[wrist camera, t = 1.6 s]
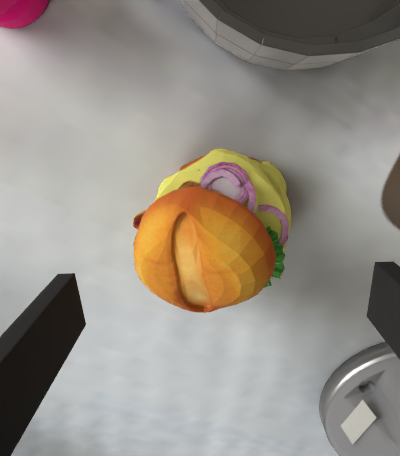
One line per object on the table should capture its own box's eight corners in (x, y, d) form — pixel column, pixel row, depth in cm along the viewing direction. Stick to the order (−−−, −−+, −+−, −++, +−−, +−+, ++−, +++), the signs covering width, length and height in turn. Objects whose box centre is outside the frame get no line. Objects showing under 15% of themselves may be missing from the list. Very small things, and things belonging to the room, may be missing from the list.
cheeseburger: (318, 217, 25) (338, 304, 17) (214, 273, 30) (189, 363, 22) (241, 112, 22) (219, 152, 14) (141, 192, 27) (80, 258, 19)
